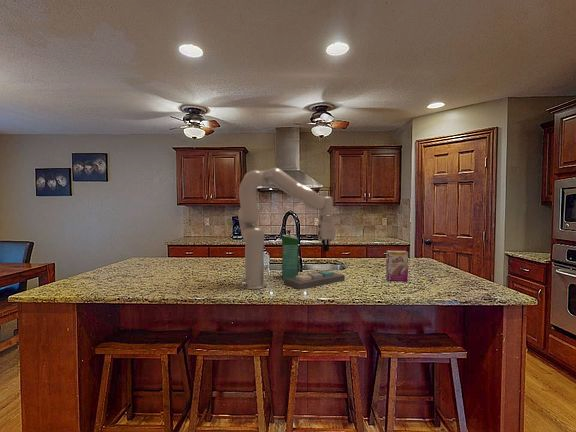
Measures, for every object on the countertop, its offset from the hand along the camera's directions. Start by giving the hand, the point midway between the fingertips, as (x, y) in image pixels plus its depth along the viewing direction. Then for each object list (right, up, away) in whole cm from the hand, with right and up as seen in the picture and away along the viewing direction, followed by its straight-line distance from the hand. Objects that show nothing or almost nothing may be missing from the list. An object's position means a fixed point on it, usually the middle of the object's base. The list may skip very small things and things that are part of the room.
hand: (326, 251), depth 179 cm
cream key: (-13, -15, -9) cm, 22 cm away
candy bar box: (+40, -17, 0) cm, 43 cm away
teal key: (0, -14, 0) cm, 14 cm away
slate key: (-7, -15, -4) cm, 16 cm away
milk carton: (-20, -16, +7) cm, 27 cm away
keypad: (-7, -17, -4) cm, 18 cm away
